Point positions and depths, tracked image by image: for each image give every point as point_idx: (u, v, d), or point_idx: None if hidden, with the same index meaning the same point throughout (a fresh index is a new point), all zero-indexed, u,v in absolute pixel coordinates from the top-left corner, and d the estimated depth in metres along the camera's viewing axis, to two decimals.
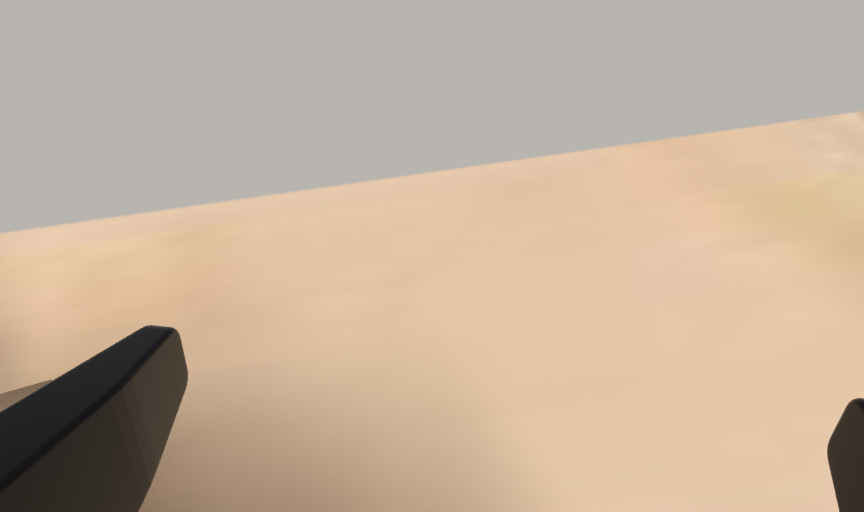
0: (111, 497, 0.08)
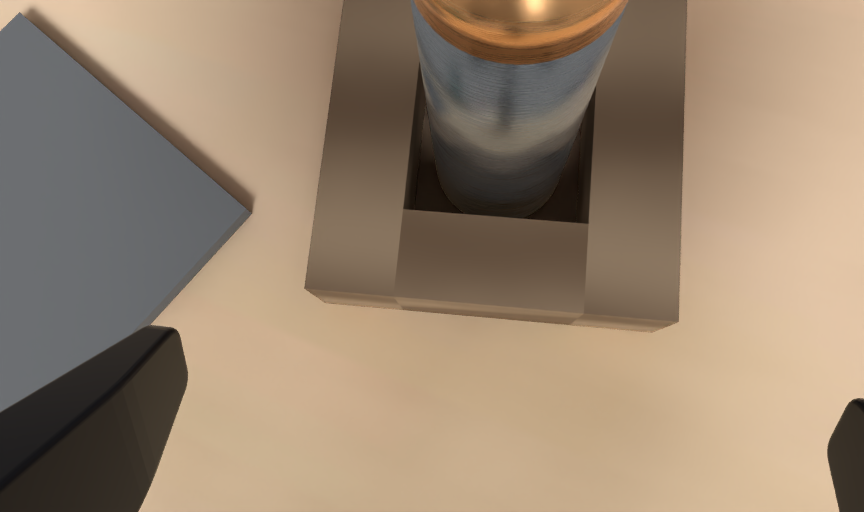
0: (111, 497, 0.08)
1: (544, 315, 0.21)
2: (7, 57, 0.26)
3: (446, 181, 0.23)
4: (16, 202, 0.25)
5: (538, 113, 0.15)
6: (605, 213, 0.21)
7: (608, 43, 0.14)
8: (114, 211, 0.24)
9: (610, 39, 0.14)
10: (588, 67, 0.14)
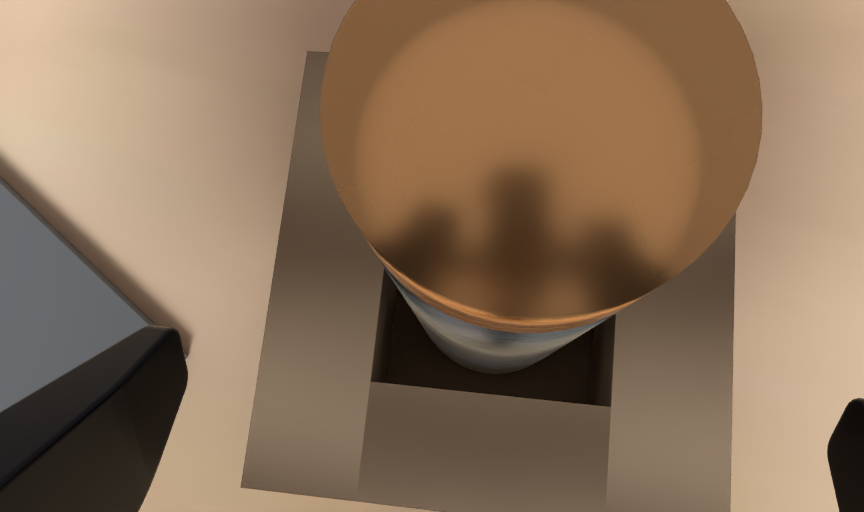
0: (111, 497, 0.08)
1: None
2: None
3: (428, 334, 0.18)
4: None
5: (549, 345, 0.10)
6: (632, 393, 0.16)
7: None
8: (16, 354, 0.19)
9: None
10: None
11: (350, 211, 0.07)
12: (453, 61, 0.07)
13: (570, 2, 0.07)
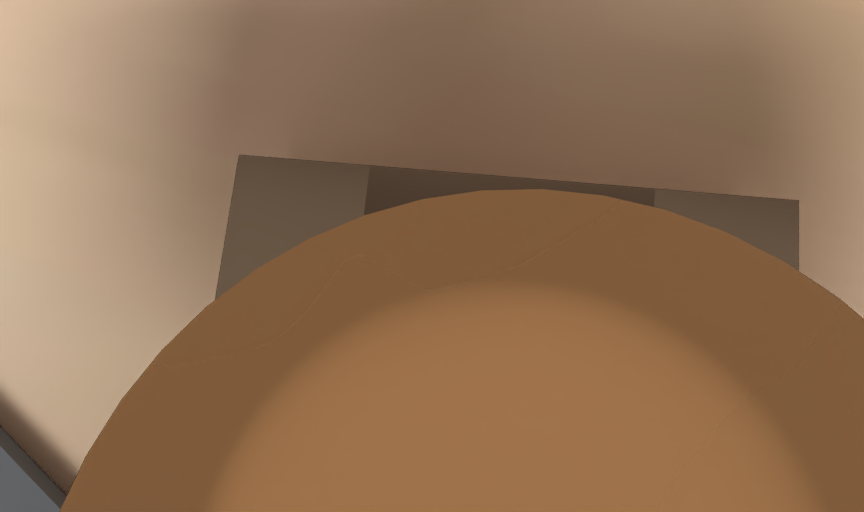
0: None
1: None
2: None
3: None
4: None
5: None
6: None
7: None
8: None
9: None
10: None
11: None
12: None
13: (606, 432, 0.03)
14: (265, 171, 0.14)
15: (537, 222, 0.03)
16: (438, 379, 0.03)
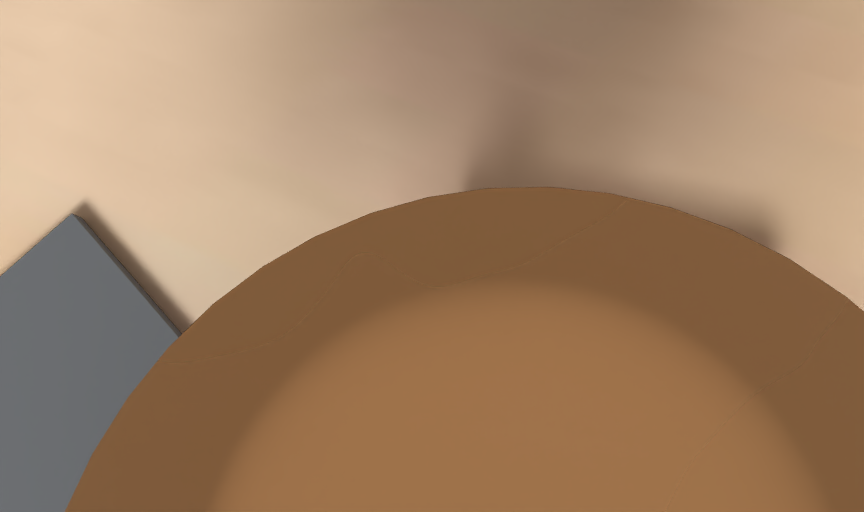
0: None
1: None
2: (54, 264, 0.24)
3: None
4: (50, 437, 0.23)
5: None
6: None
7: None
8: None
9: None
10: None
11: None
12: None
13: (612, 431, 0.03)
14: None
15: (543, 221, 0.03)
16: (443, 377, 0.03)
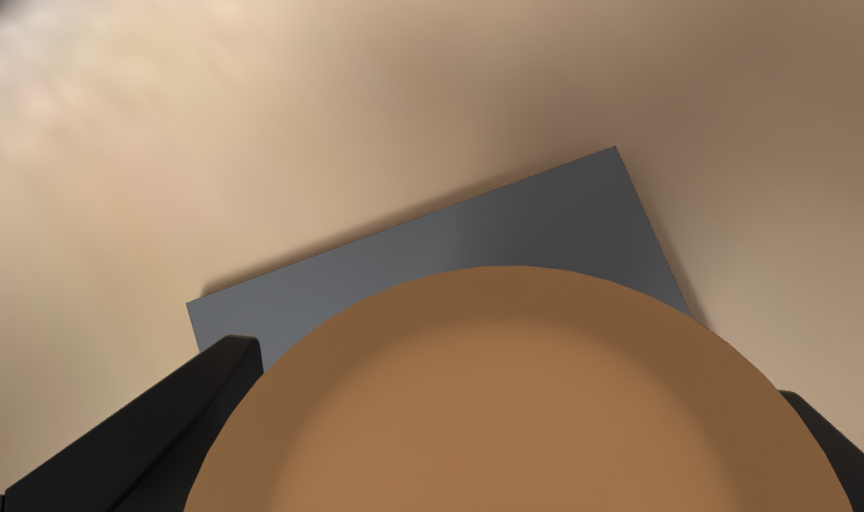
0: None
1: None
2: (574, 199, 0.18)
3: None
4: None
5: None
6: None
7: None
8: None
9: None
10: None
11: None
12: None
13: (568, 437, 0.04)
14: None
15: (521, 289, 0.05)
16: (451, 399, 0.05)
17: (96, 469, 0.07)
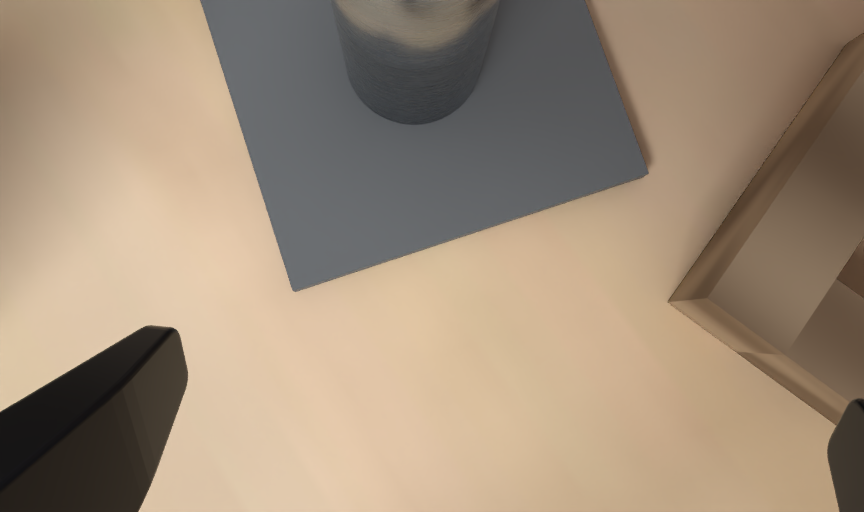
0: (111, 497, 0.08)
1: None
2: None
3: (352, 73, 0.21)
4: None
5: None
6: None
7: None
8: (523, 100, 0.23)
9: None
10: None
11: None
12: None
13: None
14: None
15: None
16: None
17: None
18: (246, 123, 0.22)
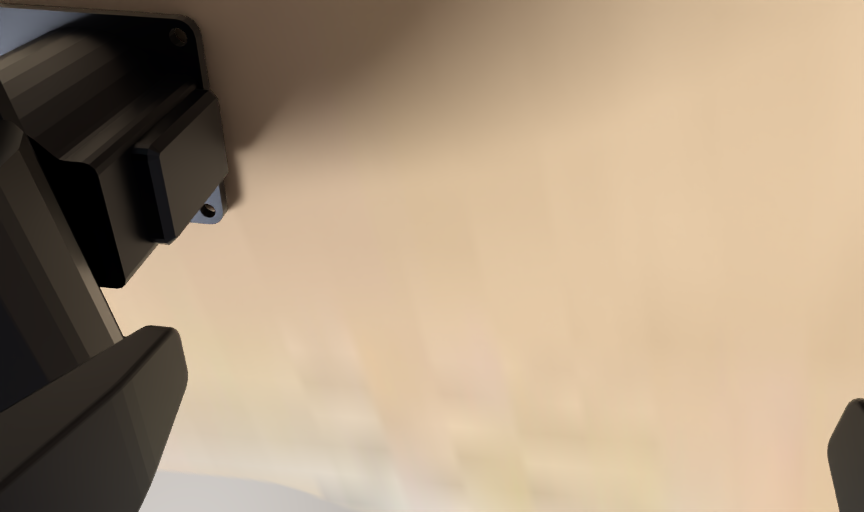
0: (111, 497, 0.08)
1: None
2: None
3: None
4: None
5: None
6: None
7: None
8: None
9: None
10: None
11: None
12: None
13: None
14: None
15: None
16: None
17: None
18: None
